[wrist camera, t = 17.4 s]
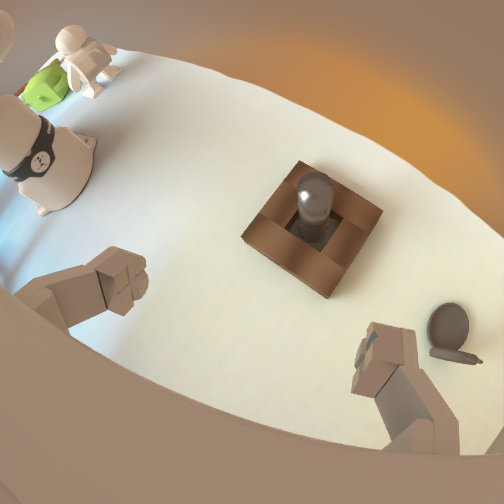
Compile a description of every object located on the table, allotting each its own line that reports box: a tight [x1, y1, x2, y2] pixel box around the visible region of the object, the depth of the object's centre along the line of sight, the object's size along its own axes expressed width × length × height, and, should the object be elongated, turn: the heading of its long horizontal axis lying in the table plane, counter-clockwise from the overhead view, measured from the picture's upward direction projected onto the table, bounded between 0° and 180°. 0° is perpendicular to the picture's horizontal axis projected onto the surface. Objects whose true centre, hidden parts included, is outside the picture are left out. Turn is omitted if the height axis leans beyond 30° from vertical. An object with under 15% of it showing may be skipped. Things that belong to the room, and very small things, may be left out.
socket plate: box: [241, 160, 383, 299], centre depth 37 cm, size 13×13×2 cm
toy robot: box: [56, 25, 122, 99], centre depth 47 cm, size 14×9×20 cm, turn 144°
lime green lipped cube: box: [22, 62, 69, 112], centre depth 56 cm, size 18×10×10 cm, turn 92°
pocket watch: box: [427, 303, 483, 365], centre depth 27 cm, size 8×8×10 cm
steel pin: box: [297, 171, 334, 242], centre depth 33 cm, size 4×4×12 cm
